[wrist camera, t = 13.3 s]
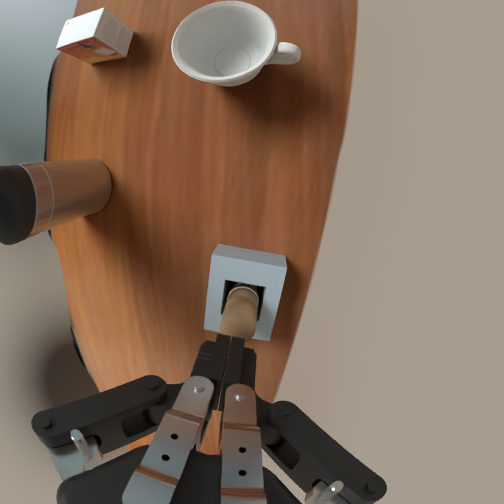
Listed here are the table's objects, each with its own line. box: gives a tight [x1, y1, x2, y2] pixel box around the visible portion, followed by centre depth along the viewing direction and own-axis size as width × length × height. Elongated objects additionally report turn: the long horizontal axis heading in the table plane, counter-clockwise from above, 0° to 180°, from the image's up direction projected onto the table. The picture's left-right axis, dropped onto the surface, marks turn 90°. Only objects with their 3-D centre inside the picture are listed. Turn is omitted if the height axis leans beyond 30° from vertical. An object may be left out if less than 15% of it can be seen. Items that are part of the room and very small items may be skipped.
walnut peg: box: [220, 282, 259, 342], centre depth 36 cm, size 4×4×12 cm
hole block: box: [204, 244, 287, 341], centre depth 40 cm, size 12×10×5 cm
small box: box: [56, 8, 134, 64], centre depth 26 cm, size 8×6×10 cm
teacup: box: [171, 1, 301, 87], centre depth 27 cm, size 12×15×10 cm
